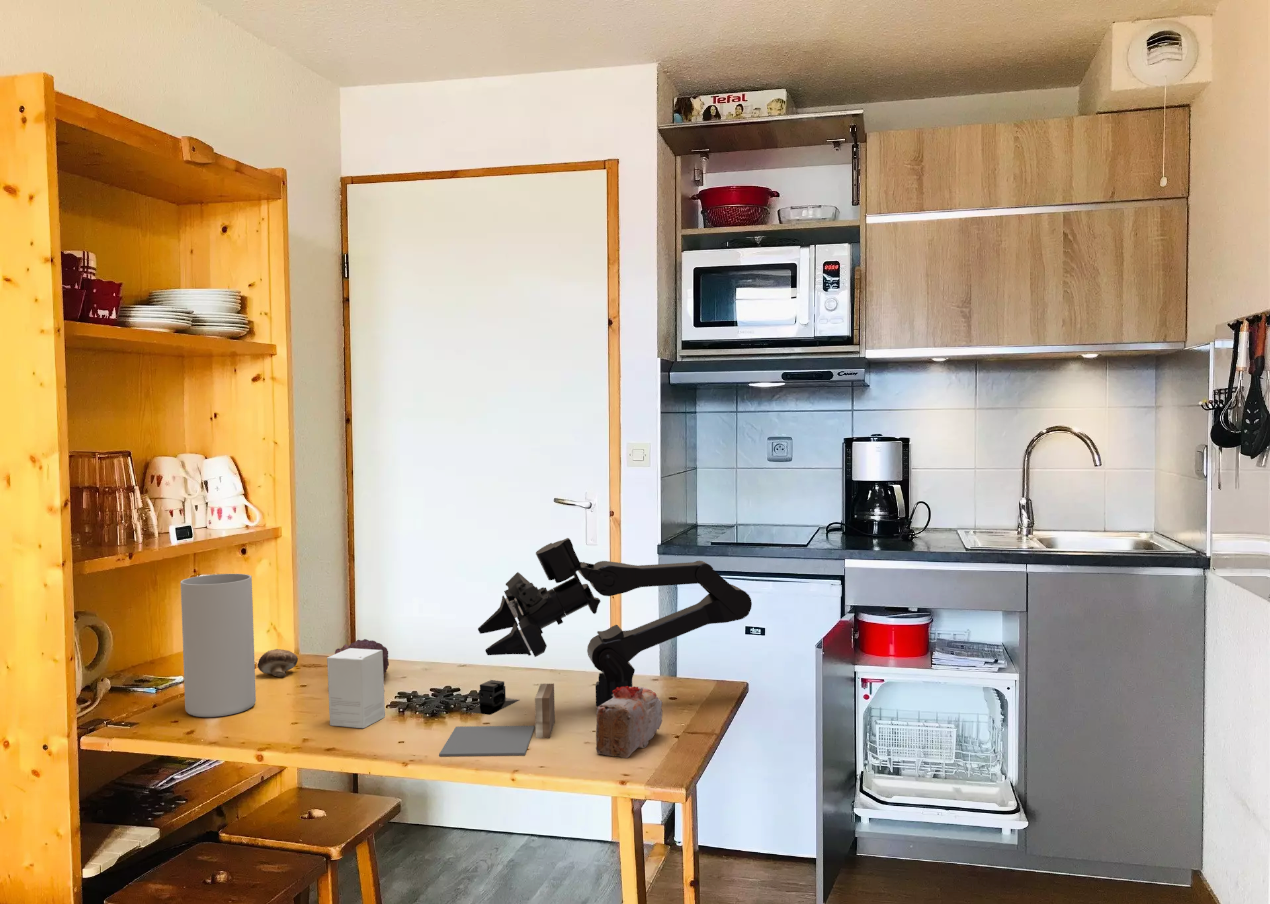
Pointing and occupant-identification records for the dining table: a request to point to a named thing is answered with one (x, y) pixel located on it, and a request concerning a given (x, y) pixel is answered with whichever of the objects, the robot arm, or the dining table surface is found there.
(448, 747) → the mat
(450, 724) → the dining table surface
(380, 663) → the supplement box
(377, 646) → the pine cone
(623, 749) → the food item
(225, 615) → the cylinder vase
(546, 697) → the tile
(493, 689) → the black angular block
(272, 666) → the mushroom
